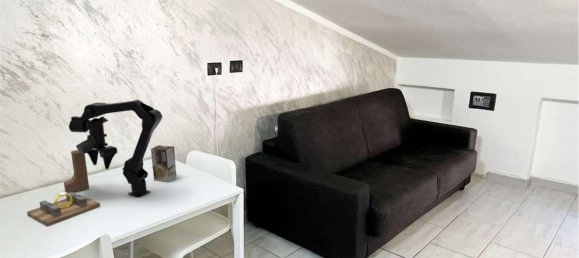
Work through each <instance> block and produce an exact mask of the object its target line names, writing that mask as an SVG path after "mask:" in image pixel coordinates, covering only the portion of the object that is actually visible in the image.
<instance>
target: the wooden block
mask: <svg viewBox="0 0 579 258" xmlns="http://www.w3.org/2000/svg"><path fill="white" fill-rule="evenodd" d="M70 154H71V155H70V156H71V160H72V161H71V162H72V169H73V175H72V177H71V178H70V179H68V180H65V181H63V185H64V192H66V193H69V192H72V193H77V192H81V191H85V190H89V189H90V184H89V177H88V168H87V161H86V153H85V154H83V153H80V152H79V151H78V149H76V150H71V151H70Z"/></svg>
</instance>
